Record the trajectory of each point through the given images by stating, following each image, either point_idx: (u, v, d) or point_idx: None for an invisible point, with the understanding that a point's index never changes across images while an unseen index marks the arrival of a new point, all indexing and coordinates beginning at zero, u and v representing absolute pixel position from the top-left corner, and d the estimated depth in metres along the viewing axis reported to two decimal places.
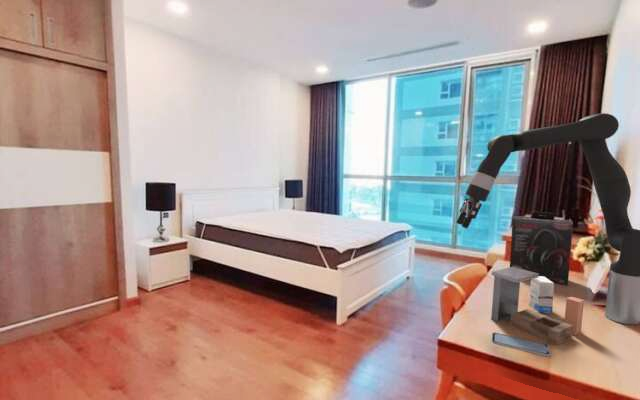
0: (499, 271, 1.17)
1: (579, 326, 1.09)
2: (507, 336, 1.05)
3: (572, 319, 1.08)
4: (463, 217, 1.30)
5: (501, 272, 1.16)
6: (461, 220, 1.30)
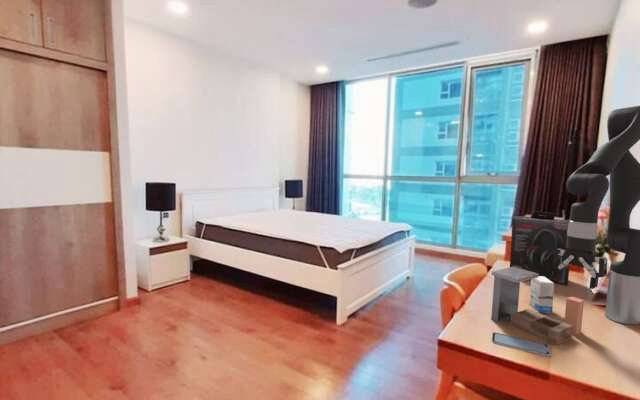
0: (499, 271, 1.17)
1: (579, 326, 1.09)
2: (507, 336, 1.05)
3: (572, 319, 1.09)
4: (564, 271, 1.12)
5: (501, 272, 1.16)
6: (563, 275, 1.12)
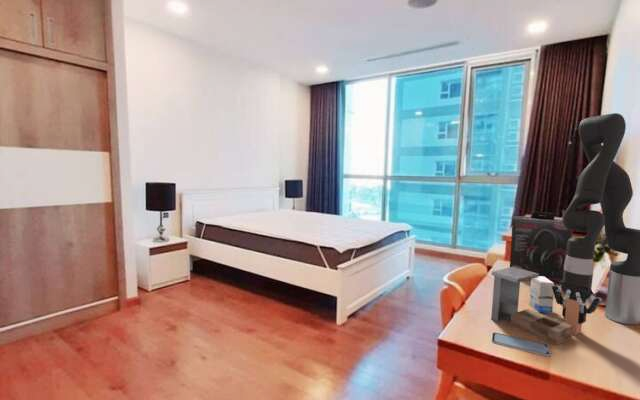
0: (499, 271, 1.17)
1: (579, 326, 1.09)
2: (507, 336, 1.05)
3: (572, 319, 1.08)
4: None
5: (501, 272, 1.16)
6: None
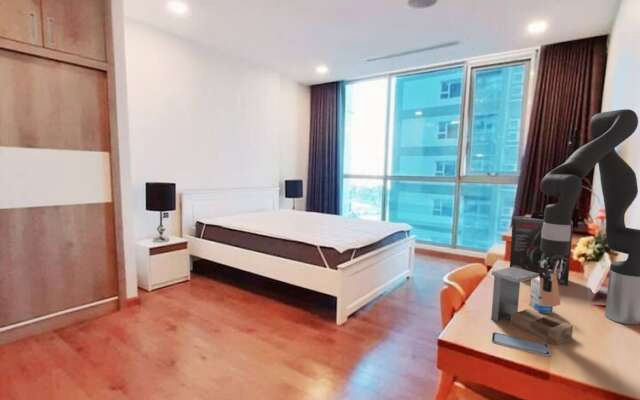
0: (499, 271, 1.17)
1: (548, 298, 1.05)
2: (507, 336, 1.05)
3: None
4: None
5: (501, 272, 1.16)
6: None
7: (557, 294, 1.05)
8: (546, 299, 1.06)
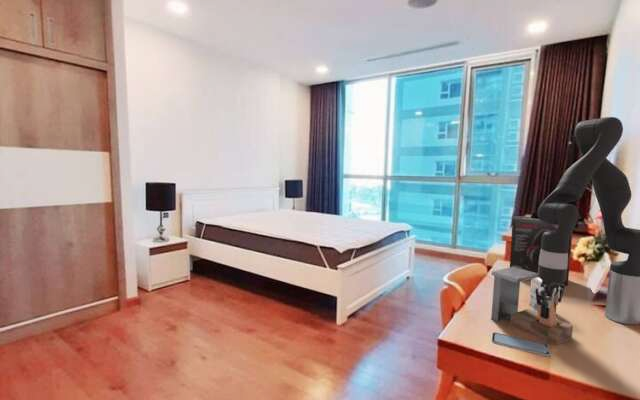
0: (499, 271, 1.17)
1: None
2: (507, 336, 1.05)
3: None
4: None
5: (501, 272, 1.16)
6: None
7: (554, 321, 1.06)
8: None
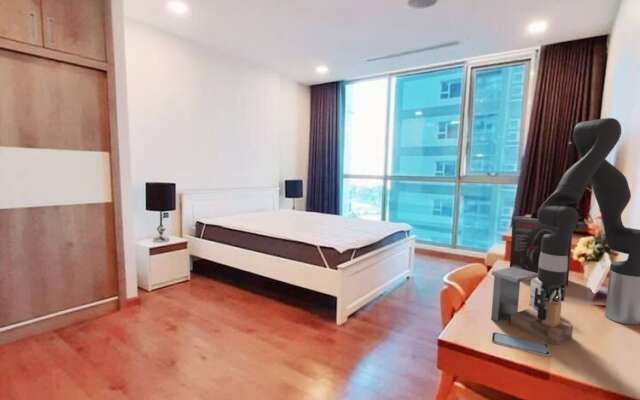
0: (499, 271, 1.17)
1: None
2: (507, 336, 1.05)
3: None
4: None
5: (501, 272, 1.16)
6: None
7: None
8: None
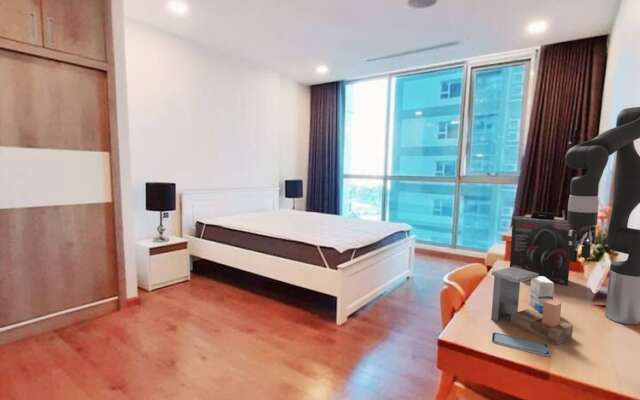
0: (499, 271, 1.17)
1: None
2: (507, 336, 1.05)
3: None
4: (587, 249, 1.08)
5: (501, 272, 1.16)
6: (586, 253, 1.08)
7: None
8: None
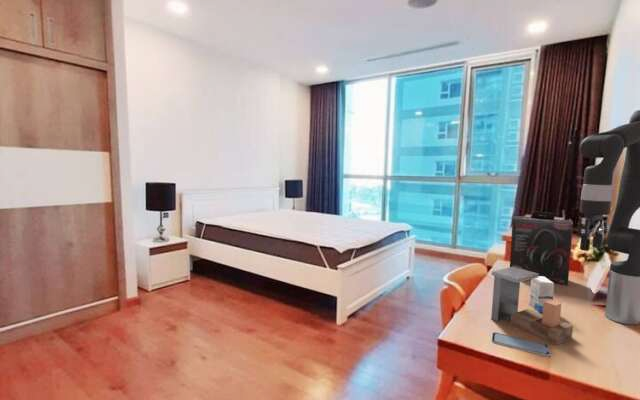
0: (499, 271, 1.17)
1: None
2: (507, 336, 1.05)
3: None
4: (598, 239, 1.08)
5: (501, 272, 1.16)
6: (597, 243, 1.08)
7: None
8: None
